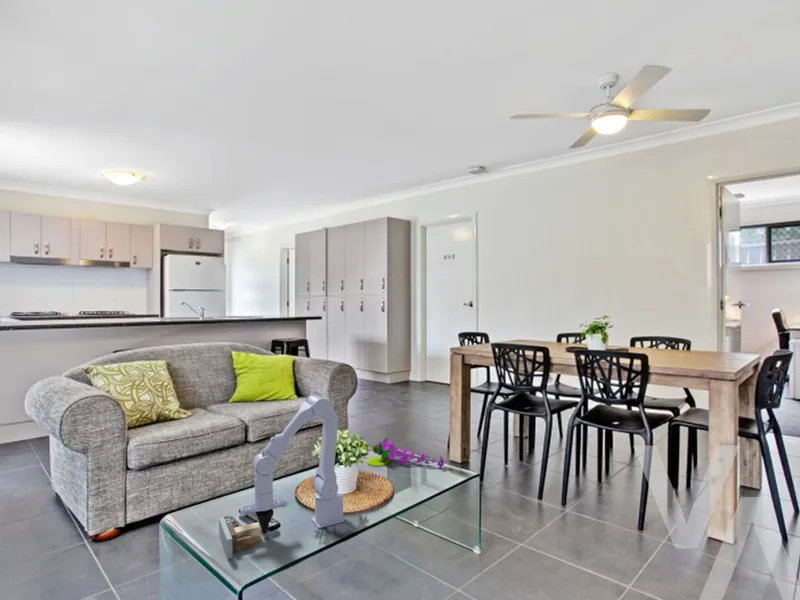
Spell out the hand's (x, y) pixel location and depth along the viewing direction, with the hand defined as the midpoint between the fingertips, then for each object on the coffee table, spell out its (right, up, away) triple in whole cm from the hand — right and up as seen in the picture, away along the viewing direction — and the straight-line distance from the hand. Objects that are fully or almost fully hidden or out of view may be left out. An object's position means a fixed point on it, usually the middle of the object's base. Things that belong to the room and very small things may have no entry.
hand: (264, 532), depth 154 cm
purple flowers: (+48, -1, +67) cm, 83 cm away
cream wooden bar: (-5, -2, -3) cm, 6 cm away
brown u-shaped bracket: (-7, -2, -4) cm, 8 cm away
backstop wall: (-11, -2, -6) cm, 12 cm away
